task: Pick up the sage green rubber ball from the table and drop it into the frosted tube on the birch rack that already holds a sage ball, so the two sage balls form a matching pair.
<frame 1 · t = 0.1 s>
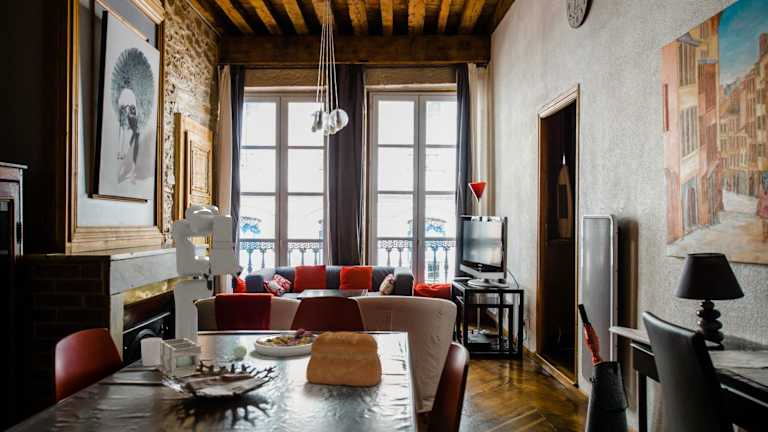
hand: (222, 289, 203), 31 cm above the table, tool pointing down, fingers open, 9 cm apart
sage ball: (240, 351, 218), point 3 cm above the table
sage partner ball: (183, 362, 195), point 4 cm above the table, touching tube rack
terracotta ball: (176, 357, 203), point 4 cm above the table, touching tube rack
bowl: (287, 351, 233), on the table
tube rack: (179, 370, 199), on the table
bread: (344, 381, 185), on the table
white cup: (151, 364, 209), on the table
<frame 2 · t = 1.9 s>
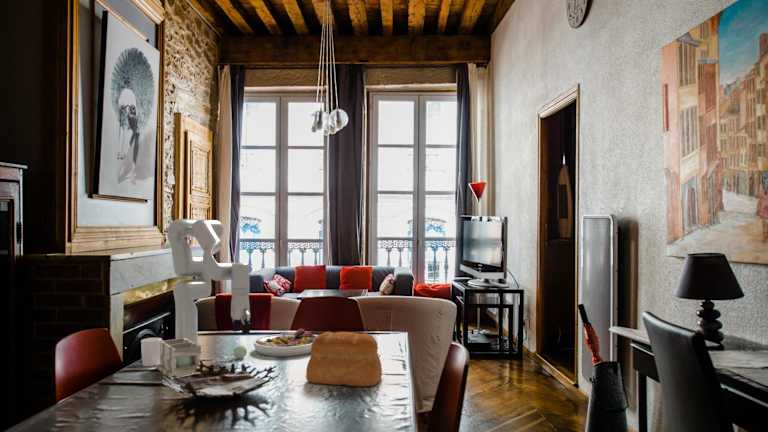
hand: (241, 332, 218), 11 cm above the table, tool pointing down, fingers open, 9 cm apart
nothing on the table moved.
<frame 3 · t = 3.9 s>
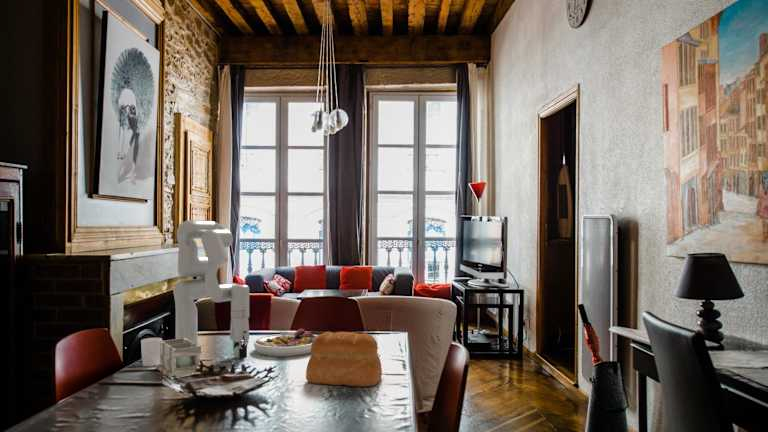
hand: (240, 356, 218), 1 cm above the table, tool pointing down, fingers closed on sage ball, 5 cm apart
sage ball: (240, 351, 218), point 3 cm above the table, touching gripper
everything else where it was.
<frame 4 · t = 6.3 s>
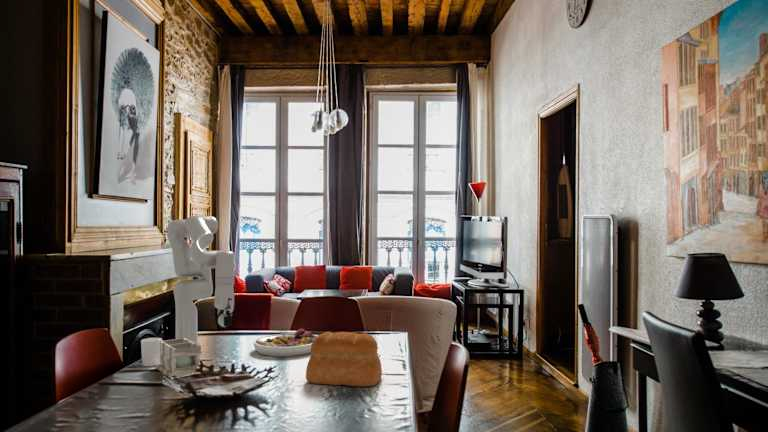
hand: (224, 324, 212), 16 cm above the table, tool pointing down, fingers closed on sage ball, 5 cm apart
sage ball: (224, 320, 212), point 17 cm above the table, touching gripper
everything else where it was.
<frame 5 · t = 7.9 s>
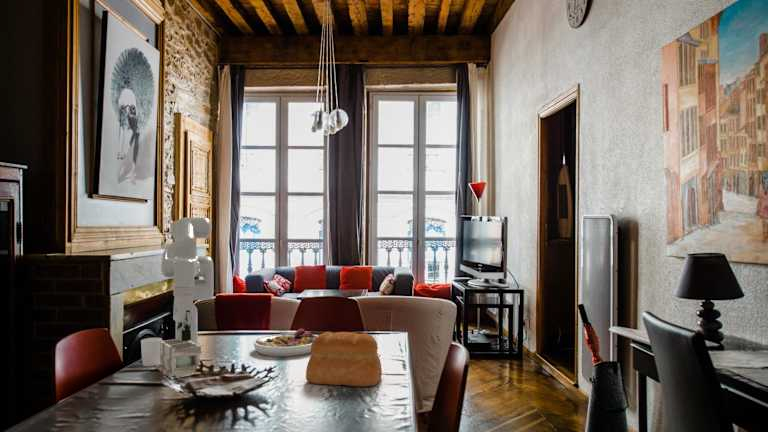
hand: (183, 338, 195), 13 cm above the table, tool pointing down, fingers closed on sage ball, 5 cm apart
sage ball: (183, 333, 195), point 15 cm above the table, touching gripper
everything else where it was.
when the fingers open (12 cm above the table, at t = 8.9 s): sage ball drops 5 cm and tips over, resting on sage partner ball, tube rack.
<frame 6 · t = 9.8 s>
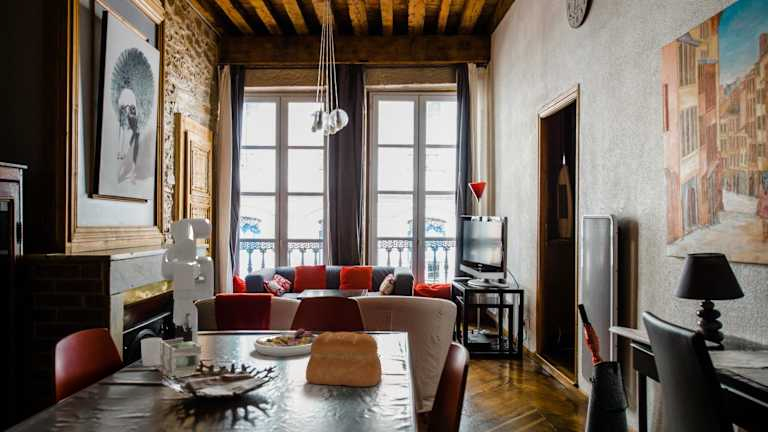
hand: (183, 339, 196), 13 cm above the table, tool pointing down, fingers open, 9 cm apart
sage ball: (185, 348, 197), point 9 cm above the table, tilted 82°, touching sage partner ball, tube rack
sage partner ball: (180, 362, 194), point 4 cm above the table, tilted 25°, touching sage ball, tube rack
everything else where it was.
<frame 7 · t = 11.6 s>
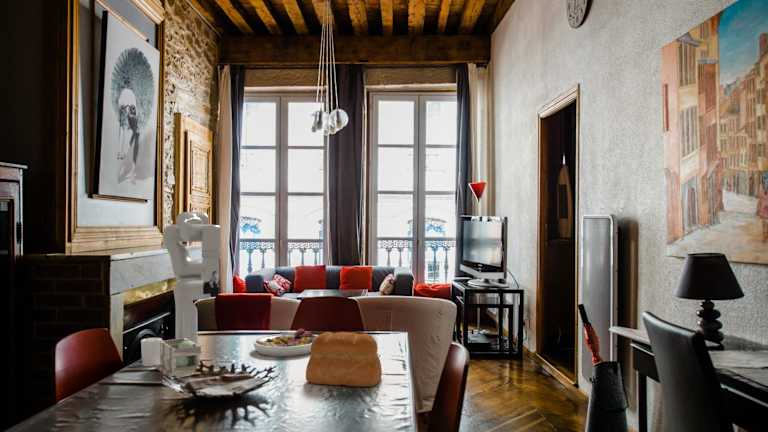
hand: (210, 295, 215), 27 cm above the table, tool pointing down, fingers open, 9 cm apart
nothing on the table moved.
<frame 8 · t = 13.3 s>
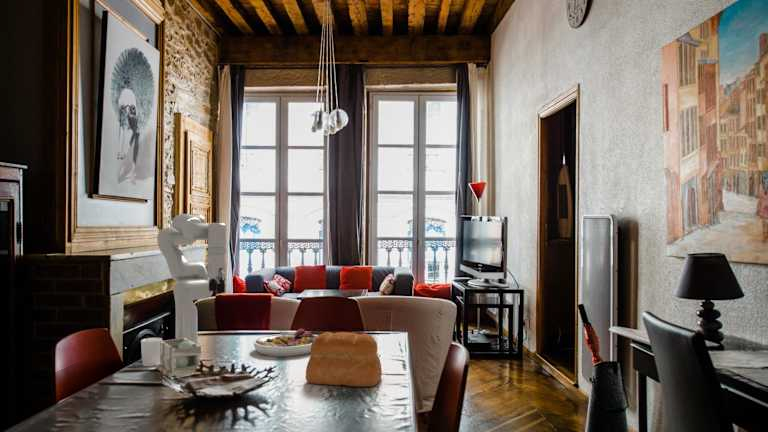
hand: (216, 291, 219), 28 cm above the table, tool pointing down, fingers open, 9 cm apart
nothing on the table moved.
at the end: sage ball 2.2 cm from the target spot on the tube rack, point 9.1 cm above the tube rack's base; sage ball touching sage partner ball, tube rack; the gripper is holding nothing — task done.
